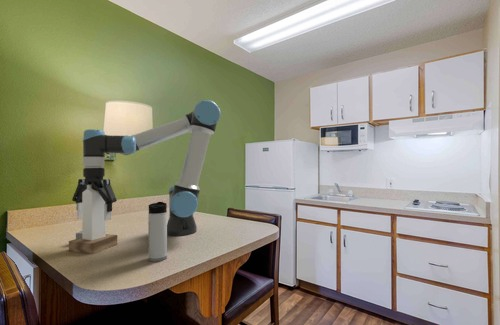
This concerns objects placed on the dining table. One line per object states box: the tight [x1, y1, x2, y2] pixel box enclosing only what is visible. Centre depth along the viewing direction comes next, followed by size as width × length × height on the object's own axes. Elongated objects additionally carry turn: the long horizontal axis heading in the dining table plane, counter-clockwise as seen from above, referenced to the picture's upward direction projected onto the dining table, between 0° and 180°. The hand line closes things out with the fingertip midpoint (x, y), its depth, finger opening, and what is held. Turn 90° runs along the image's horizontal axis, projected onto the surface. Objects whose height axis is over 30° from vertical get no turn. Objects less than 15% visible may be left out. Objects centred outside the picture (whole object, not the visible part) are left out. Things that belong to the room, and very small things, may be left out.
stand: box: [68, 233, 118, 255], centre depth 104 cm, size 12×12×4 cm
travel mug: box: [147, 201, 168, 263], centre depth 91 cm, size 6×7×20 cm
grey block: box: [75, 230, 82, 239], centre depth 110 cm, size 5×5×5 cm
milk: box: [81, 185, 107, 241], centre depth 104 cm, size 6×6×22 cm
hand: (94, 219), depth 104 cm, fingers open, 13 cm apart
